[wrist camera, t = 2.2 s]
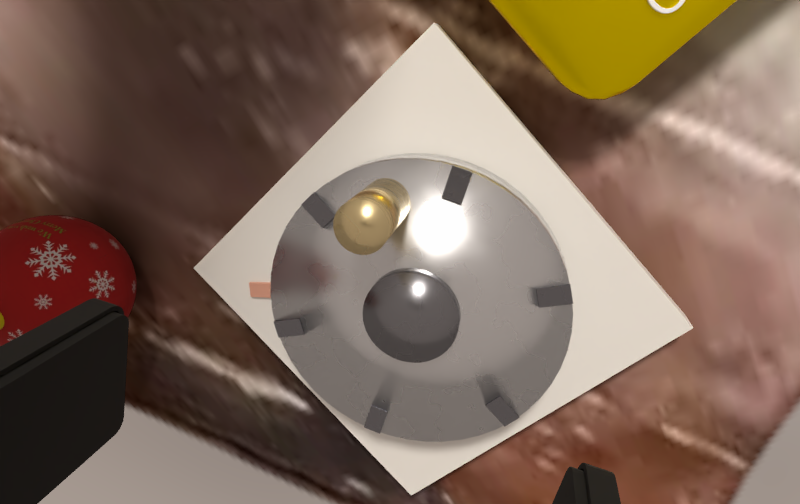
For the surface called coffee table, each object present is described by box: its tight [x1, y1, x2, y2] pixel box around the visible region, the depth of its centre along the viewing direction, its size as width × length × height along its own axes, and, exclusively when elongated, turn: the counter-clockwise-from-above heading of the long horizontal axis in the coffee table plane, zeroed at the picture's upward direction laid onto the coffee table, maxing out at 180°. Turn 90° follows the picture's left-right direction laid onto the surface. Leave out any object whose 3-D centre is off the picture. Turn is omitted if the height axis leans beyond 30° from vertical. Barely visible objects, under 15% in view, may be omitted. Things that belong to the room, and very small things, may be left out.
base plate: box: [194, 23, 693, 495], centre depth 31 cm, size 20×20×2 cm
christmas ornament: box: [0, 215, 137, 346], centre depth 32 cm, size 9×9×10 cm
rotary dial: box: [270, 153, 573, 442], centre depth 28 cm, size 16×16×6 cm
